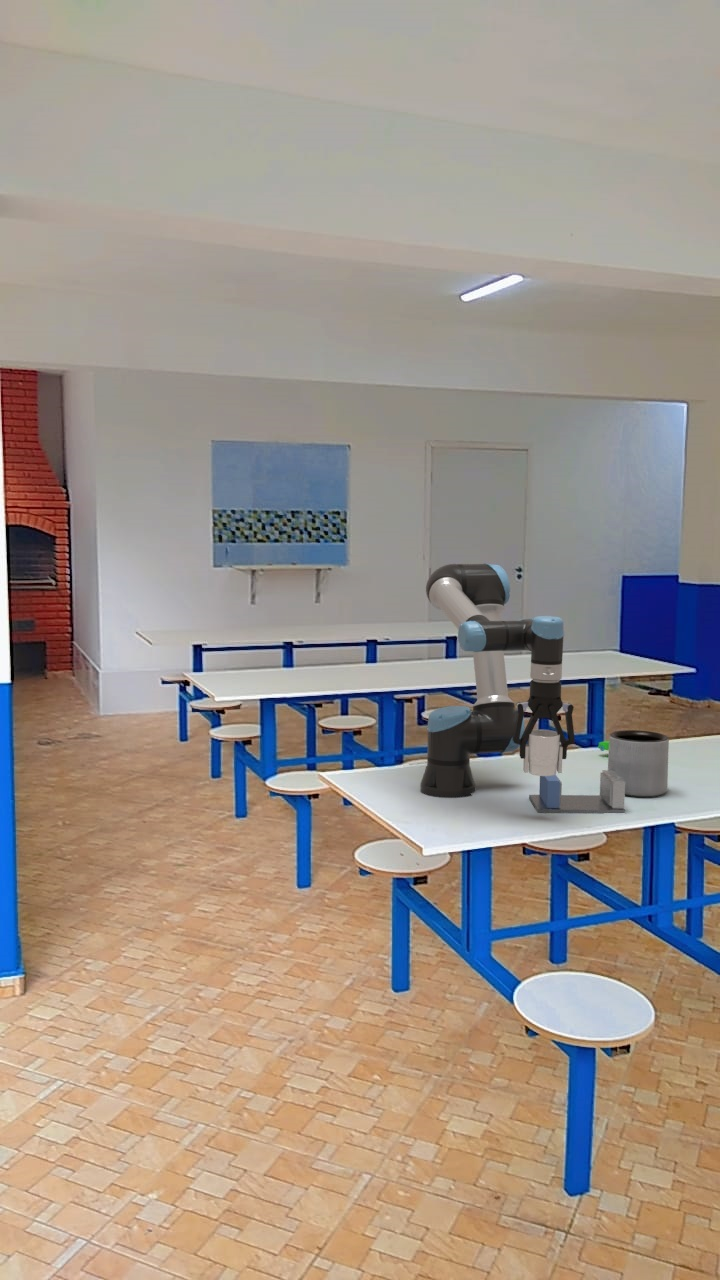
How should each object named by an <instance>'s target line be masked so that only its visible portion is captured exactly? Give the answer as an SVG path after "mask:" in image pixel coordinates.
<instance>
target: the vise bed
mask: <svg viewBox="0 0 720 1280" xmlns="http://www.w3.org/2000/svg"><path fill="white" fill-rule="evenodd" d="M528 796H529V797H528V799H529V800H530V802H531V804H532V805H533V807H534V810H535V811H536V812H537V813H538V814H599V815H600V814H603V815H604V813H625V814H626V809H625V808H624V809H612V808H611V806H609V805H608V804H607V803H606V801H605V800H604V799H603V798H602V797H601V796H600V794H599V795H593V794H592V795H590V794H589V795H584V794H581V795H580V794H579V795H578V794H577V795H575V794H571V795H570V794H561V806H559V808H547V807H546V805H545V804H544V802H543V800H542V799H541V797H540V796H539V794H529V795H528Z"/></svg>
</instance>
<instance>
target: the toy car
mask: <svg viewBox="0 0 720 1280" xmlns="http://www.w3.org/2000/svg"><path fill="white" fill-rule="evenodd" d="M597 747H598V749H599V751H601V752H604V751H608V752H609V740H605V741H600V742H599V741H598V746H597Z"/></svg>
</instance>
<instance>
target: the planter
mask: <svg viewBox="0 0 720 1280" xmlns="http://www.w3.org/2000/svg"><path fill="white" fill-rule="evenodd" d="M608 741H609V751H608V759H607V760H608V761H607V770H614V771H615V772H616V773H617V774H618V775H619V776H620V777H621V778H622V779H623V780H624V781H625V797H626V796H627V797H634V798H652V797H653V798H655V797H660V796H662V795H663V794H665V793H666V792H667V790H668V784H669V781H668V780H669V778H668V777H669V749H670V748H669V747H670V746H669V744H670V742H669V741H670V737H669V736H668V735H665V734H664V733H659V732H656V731H655V732H654V731H649V730H640V729H639V730H637V729H635V730H633V729H631V730H630V729H628V730H625V729H624V730H616V731H613V732H610V733H609V738H608Z"/></svg>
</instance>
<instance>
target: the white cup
mask: <svg viewBox="0 0 720 1280" xmlns="http://www.w3.org/2000/svg"><path fill="white" fill-rule="evenodd" d="M560 743H561V742H560V735H558V734H557V732H556V730H555V731H554V730H550V729H533V730H532V732H531V734H529V739H528V741H527V745H528V746H529V758H528V774H531V775H534V776H539V777H540V776H552V775H555V774H556V775H557V762H558V754H559V745H560Z"/></svg>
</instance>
